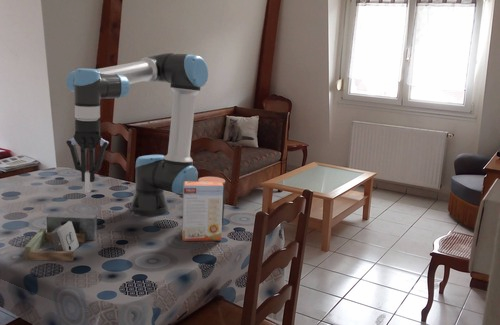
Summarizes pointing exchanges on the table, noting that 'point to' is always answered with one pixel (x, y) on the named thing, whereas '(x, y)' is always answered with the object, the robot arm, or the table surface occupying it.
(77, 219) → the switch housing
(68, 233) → the electrical switch
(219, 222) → the cracker box
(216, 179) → the coffee jar
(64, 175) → the table surface
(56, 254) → the bay
